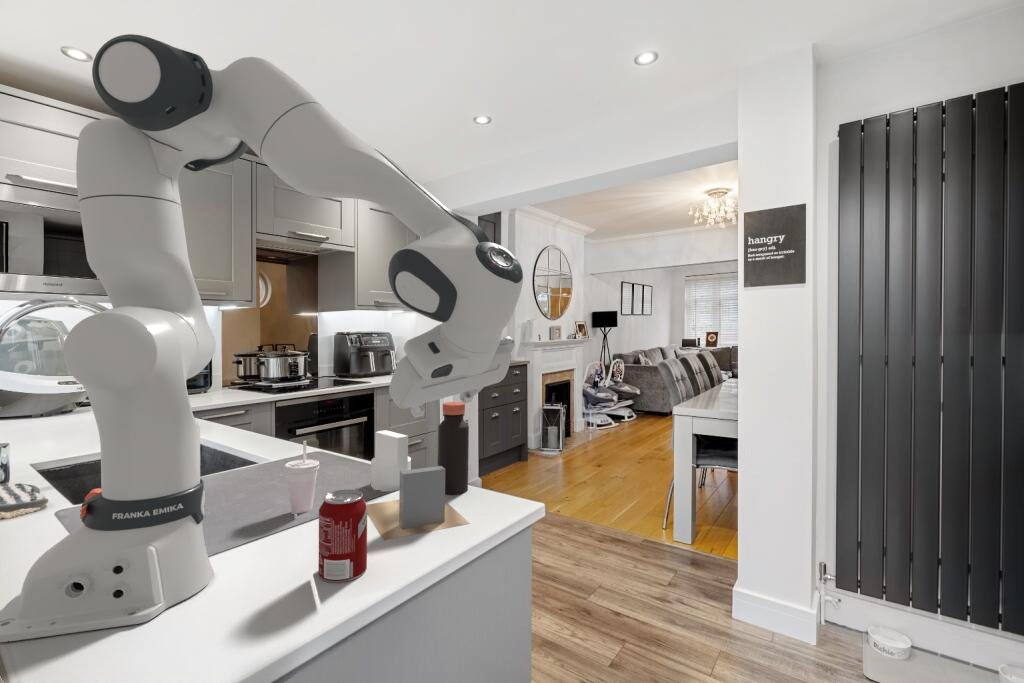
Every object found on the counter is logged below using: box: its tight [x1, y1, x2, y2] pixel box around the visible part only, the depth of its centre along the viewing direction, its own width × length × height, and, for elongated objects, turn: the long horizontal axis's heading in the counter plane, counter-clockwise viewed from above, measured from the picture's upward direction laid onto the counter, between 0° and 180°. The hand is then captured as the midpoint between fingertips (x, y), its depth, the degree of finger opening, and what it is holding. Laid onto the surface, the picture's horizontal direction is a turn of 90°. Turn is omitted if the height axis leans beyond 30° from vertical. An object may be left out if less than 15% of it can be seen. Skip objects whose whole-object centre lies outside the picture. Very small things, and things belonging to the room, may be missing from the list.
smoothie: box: [284, 440, 320, 514], centre depth 97 cm, size 6×6×14 cm
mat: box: [367, 499, 471, 541], centre depth 95 cm, size 16×18×1 cm
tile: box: [398, 465, 446, 530], centre depth 91 cm, size 8×2×10 cm, turn 118°
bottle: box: [437, 401, 470, 496], centre depth 110 cm, size 7×7×20 cm
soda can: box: [318, 488, 368, 584], centre depth 73 cm, size 7×7×12 cm
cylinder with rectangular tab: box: [370, 429, 412, 492], centre depth 114 cm, size 9×9×12 cm
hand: (441, 406), depth 81 cm, fingers open, 8 cm apart
